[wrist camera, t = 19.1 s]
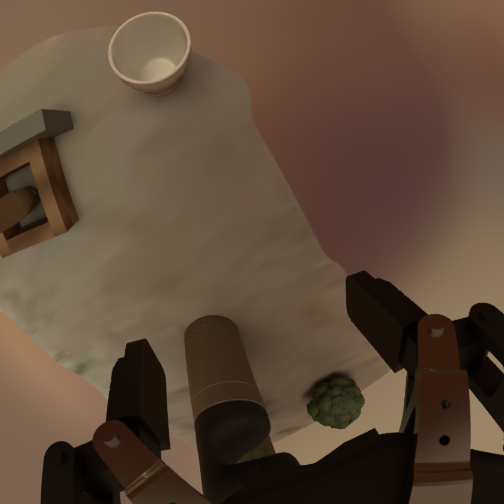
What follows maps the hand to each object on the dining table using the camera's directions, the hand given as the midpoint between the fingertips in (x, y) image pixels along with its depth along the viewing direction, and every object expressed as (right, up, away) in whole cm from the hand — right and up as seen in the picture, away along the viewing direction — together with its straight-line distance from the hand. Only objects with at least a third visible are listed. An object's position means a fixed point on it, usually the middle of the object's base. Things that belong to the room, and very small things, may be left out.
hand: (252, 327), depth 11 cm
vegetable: (+17, -29, +52) cm, 62 cm away
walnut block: (-30, +11, +21) cm, 38 cm away
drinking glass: (-11, +25, +20) cm, 34 cm away
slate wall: (-31, +17, +18) cm, 40 cm away
